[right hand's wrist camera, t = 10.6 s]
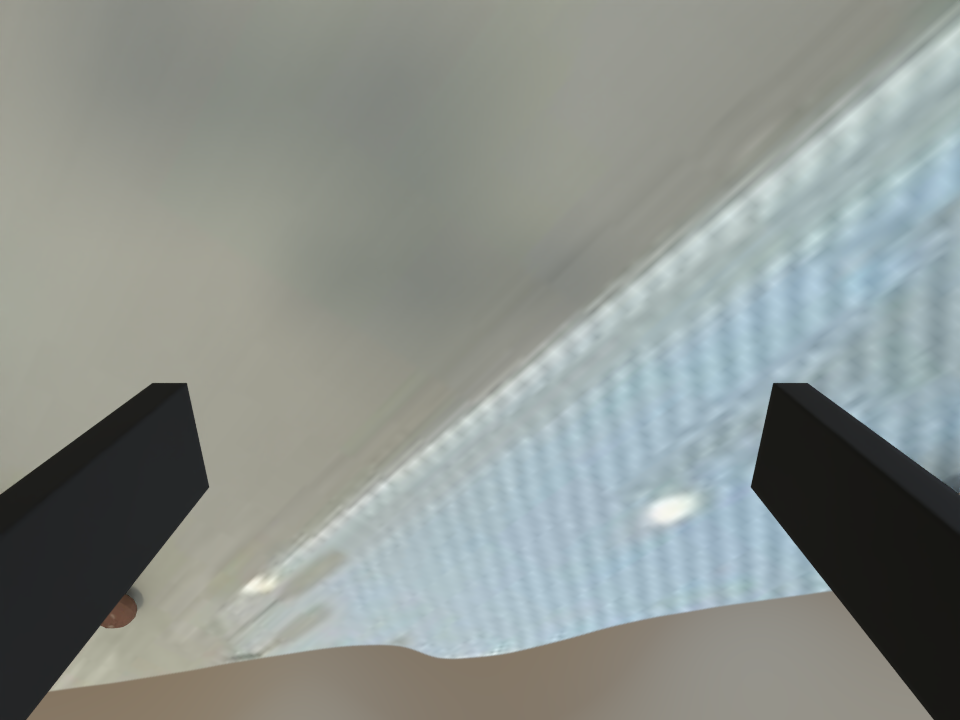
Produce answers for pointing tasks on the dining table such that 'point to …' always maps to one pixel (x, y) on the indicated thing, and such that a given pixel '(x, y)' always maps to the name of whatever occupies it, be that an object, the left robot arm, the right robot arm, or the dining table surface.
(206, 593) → the dining table surface
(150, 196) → the dining table surface
